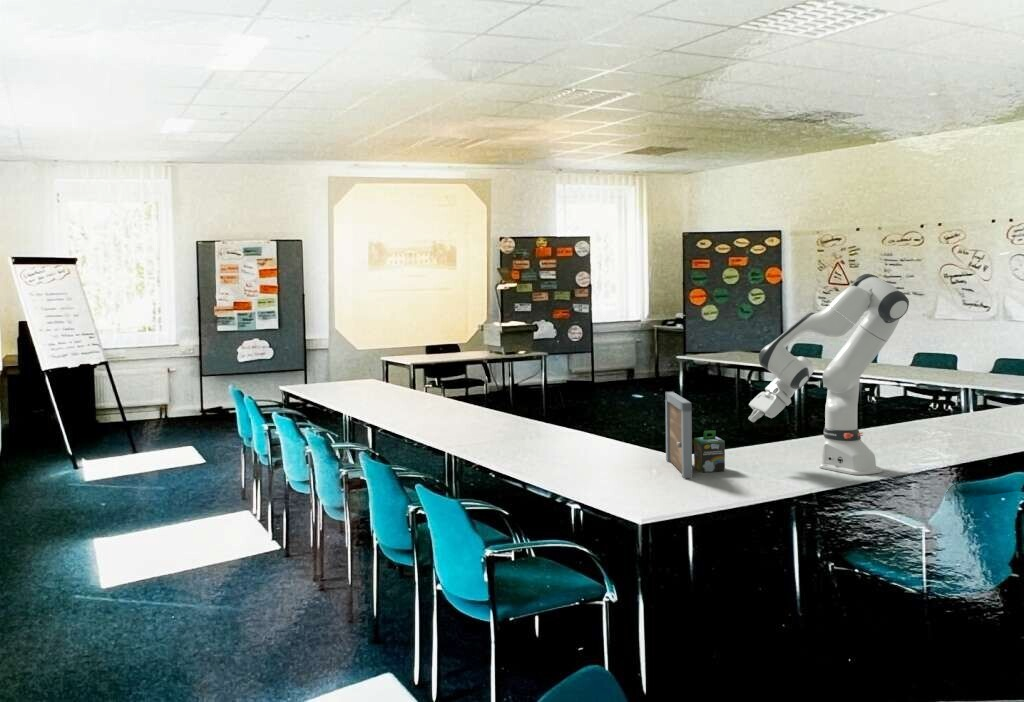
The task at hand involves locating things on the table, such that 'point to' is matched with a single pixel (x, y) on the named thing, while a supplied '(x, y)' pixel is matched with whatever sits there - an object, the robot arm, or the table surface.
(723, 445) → the chalk box
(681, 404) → the door frame
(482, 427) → the table surface
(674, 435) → the door
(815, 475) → the table surface
